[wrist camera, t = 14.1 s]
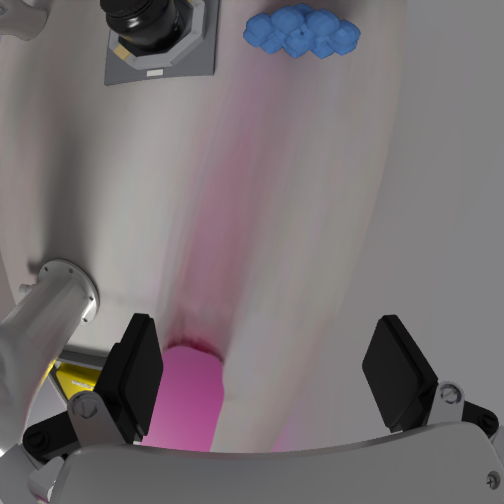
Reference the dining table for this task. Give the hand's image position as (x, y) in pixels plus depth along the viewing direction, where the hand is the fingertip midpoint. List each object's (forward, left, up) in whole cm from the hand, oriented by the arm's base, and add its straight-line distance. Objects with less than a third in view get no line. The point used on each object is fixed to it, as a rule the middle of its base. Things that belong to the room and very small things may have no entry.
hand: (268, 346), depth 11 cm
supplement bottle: (-12, +22, -26) cm, 36 cm away
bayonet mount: (-12, +22, -26) cm, 36 cm away
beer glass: (-35, +30, -26) cm, 53 cm away
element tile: (-33, -42, -27) cm, 60 cm away
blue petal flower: (+4, +20, -26) cm, 33 cm away
